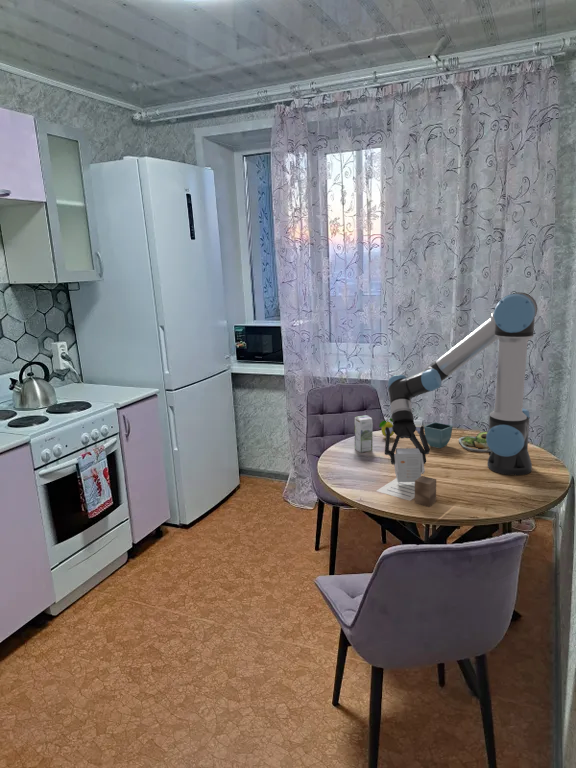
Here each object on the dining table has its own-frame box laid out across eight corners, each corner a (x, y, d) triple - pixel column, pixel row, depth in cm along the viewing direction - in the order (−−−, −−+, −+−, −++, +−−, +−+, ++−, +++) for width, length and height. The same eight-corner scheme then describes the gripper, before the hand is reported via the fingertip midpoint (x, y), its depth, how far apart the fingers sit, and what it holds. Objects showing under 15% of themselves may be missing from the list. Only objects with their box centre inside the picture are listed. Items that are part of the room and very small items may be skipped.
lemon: (397, 436, 231) (397, 415, 228) (392, 440, 226) (392, 419, 224) (383, 435, 234) (383, 414, 232) (378, 438, 229) (378, 417, 227)
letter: (432, 485, 177) (432, 484, 177) (410, 501, 165) (410, 500, 165) (399, 477, 186) (399, 476, 186) (375, 491, 174) (375, 491, 174)
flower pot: (434, 441, 222) (434, 421, 220) (452, 445, 216) (453, 425, 214) (423, 446, 217) (423, 426, 215) (441, 451, 210) (442, 430, 208)
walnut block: (435, 502, 164) (436, 479, 163) (429, 508, 161) (429, 484, 159) (421, 498, 168) (421, 475, 166) (414, 504, 164) (414, 480, 162)
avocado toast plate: (510, 456, 202) (511, 444, 202) (464, 455, 205) (464, 444, 204) (499, 440, 221) (499, 430, 220) (456, 439, 224) (456, 429, 223)
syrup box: (366, 447, 219) (366, 414, 216) (373, 451, 213) (372, 418, 210) (354, 449, 217) (353, 416, 214) (360, 453, 212) (360, 419, 209)
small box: (418, 476, 180) (419, 447, 178) (421, 482, 174) (421, 453, 172) (395, 476, 181) (395, 447, 178) (397, 482, 175) (397, 453, 173)
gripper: (429, 418, 188) (438, 476, 176) (372, 419, 189) (378, 477, 177) (432, 408, 182) (443, 467, 170) (374, 409, 183) (380, 468, 171)
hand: (410, 472), depth 173 cm, fingers closed on small box, 8 cm apart
